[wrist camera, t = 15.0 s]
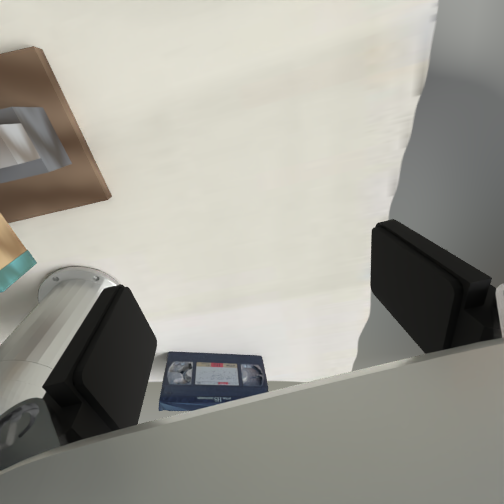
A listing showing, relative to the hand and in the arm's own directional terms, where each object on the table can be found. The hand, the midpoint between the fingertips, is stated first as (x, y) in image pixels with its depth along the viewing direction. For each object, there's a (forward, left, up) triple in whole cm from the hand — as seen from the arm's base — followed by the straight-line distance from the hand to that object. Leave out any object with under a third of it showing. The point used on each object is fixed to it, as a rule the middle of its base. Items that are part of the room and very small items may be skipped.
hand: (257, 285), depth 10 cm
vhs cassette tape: (-33, -17, -29) cm, 47 cm away
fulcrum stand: (-12, +22, -28) cm, 38 cm away
